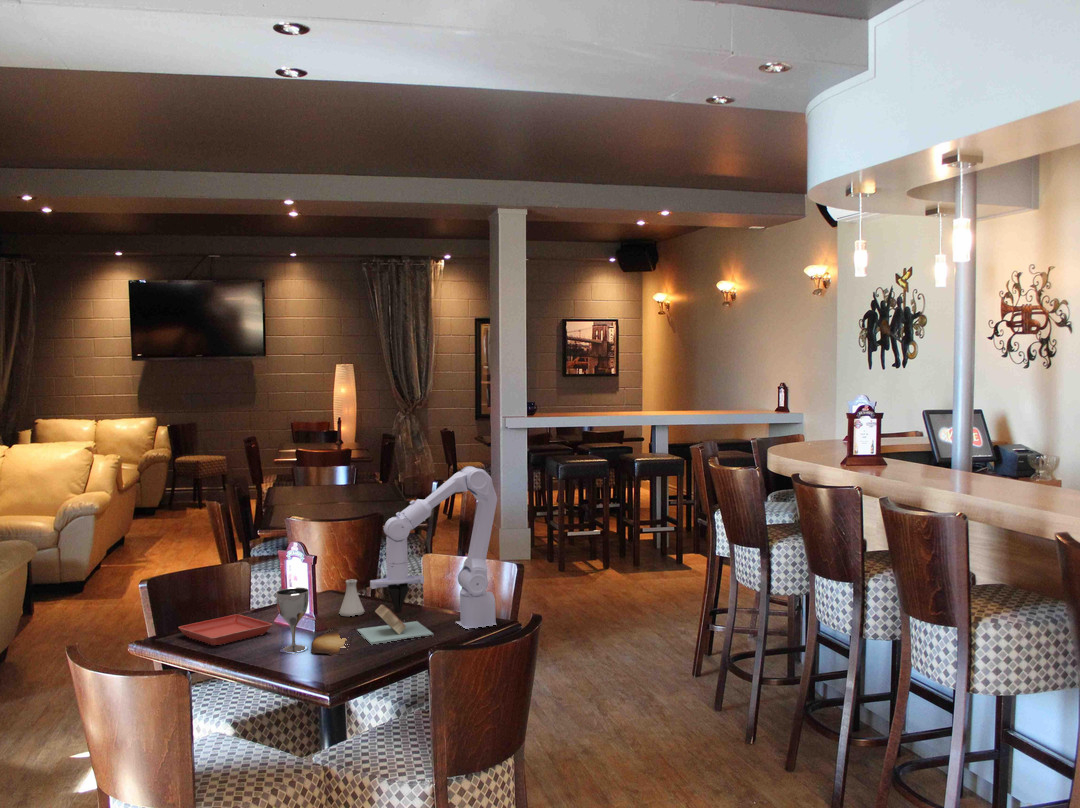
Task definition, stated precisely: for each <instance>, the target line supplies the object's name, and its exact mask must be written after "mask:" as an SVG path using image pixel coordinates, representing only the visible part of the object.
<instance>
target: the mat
mask: <svg viewBox="0 0 1080 808" xmlns="http://www.w3.org/2000/svg"><path fill="white" fill-rule="evenodd" d="M403 623H404V624H405V627H406V628H405V629H404V630H403V631H402V632H401V633H400V634H398V633H397V632H395V631H394V630H393V629H392V628H391V627H390V626H389V625H388V624H387V625H386V624H385V625H378V626H370V627H363V628H356V632H357V631H358V632H359V633H360V634H361V635H360V634H359V633H358V632H357V633H358V634H359V635H360V637H362V638H363V639H364V640H365V639H366V640H367V641H368V642H369V643H370V644H371V645H370V644H369V643H368V642H367V641H366V640H365V641H366V642H367V643H368V644H369V645H370V646H374V645H373V644H376V645H380V644H379V643H383V644H388V643H387V642H390V643H392V642H391V641H397V640H401V639H407V638H414V637H421V636H429V635H433V636H434V632H432V631H431V630H430V629H428V628H427V627H426V626H425V625H422V623H420V622H419V621H418V620H416V621H408V622H403ZM397 642H398V641H397Z"/></svg>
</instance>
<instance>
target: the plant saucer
mask: <svg viewBox="0 0 1080 808" xmlns="http://www.w3.org/2000/svg"><path fill="white" fill-rule="evenodd" d="M272 626H273V623H270V622H267V621H264V620H261V619H256V618H253V617H249V616H245V615H243V614H232V615H226V616H222V617H218V618H212V619H209V620H203V621H199V622H194V623H189V624H184V625H180V626H178V630H180V632H181V633H182V634H184V636H185V637H187V638H188V637H189V638H188V639H191V638H192V639H191V640H194V639H196V640H195V641H197V640H199V641H198V642H200V641H202V642H201V643H203V642H205V643H204V644H206V643H208V644H207V645H209V644H211V645H210V646H212V645H220V644H224V643H228V644H230V643H229V642H232V643H234V642H233V641H236V642H238V641H237V640H240V641H242V640H241V639H244V640H247V639H246V638H248V639H251V638H250V637H252V638H255V637H254V636H256V637H258V636H257V635H260V636H262V635H261V634H263V635H265V634H266V633H267V632H268V630H270V629H271V627H272ZM224 645H225V644H224ZM220 646H221V645H220Z"/></svg>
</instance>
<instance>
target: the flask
mask: <svg viewBox="0 0 1080 808" xmlns="http://www.w3.org/2000/svg"><path fill="white" fill-rule="evenodd" d="M357 583H358V580H357V579H346V580H345V585H346V588H345V594H344V597H343V600H342V604H341V607H340V609H339V612H338V615H339V614H340V615H339V616H342V617H350V616H352V617H356V616H355V615H358V616H361V615H363V614H365V613H366V611H365V608H364V606H363V605H362V601H361V599H360V596H359V594H358V589H357ZM364 612H365V613H364Z"/></svg>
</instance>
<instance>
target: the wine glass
mask: <svg viewBox="0 0 1080 808" xmlns="http://www.w3.org/2000/svg"><path fill="white" fill-rule="evenodd" d="M275 597H276V605H277V611H278V613H279V615H280V616H281V617H282V618H283V620H284V621H286V623H287V624H288V625H289V628H290V634H291V644H290V645H286V646H287V647H286V646H284V647H285V648H283V647H282V648H283V650H284V651H287V652H297V651H301V650H304V649H305V646H306V645H304V646H302V644H301V645H300V644H296V629H297V625H298V623H299V622H300V621H301V619H302V618H304V616H305V614H306V613H307V611H308V606H309V599H310V594H309V589H308V588H306V587H287V588H282V589H278V590H277V591H276V596H275Z"/></svg>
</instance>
